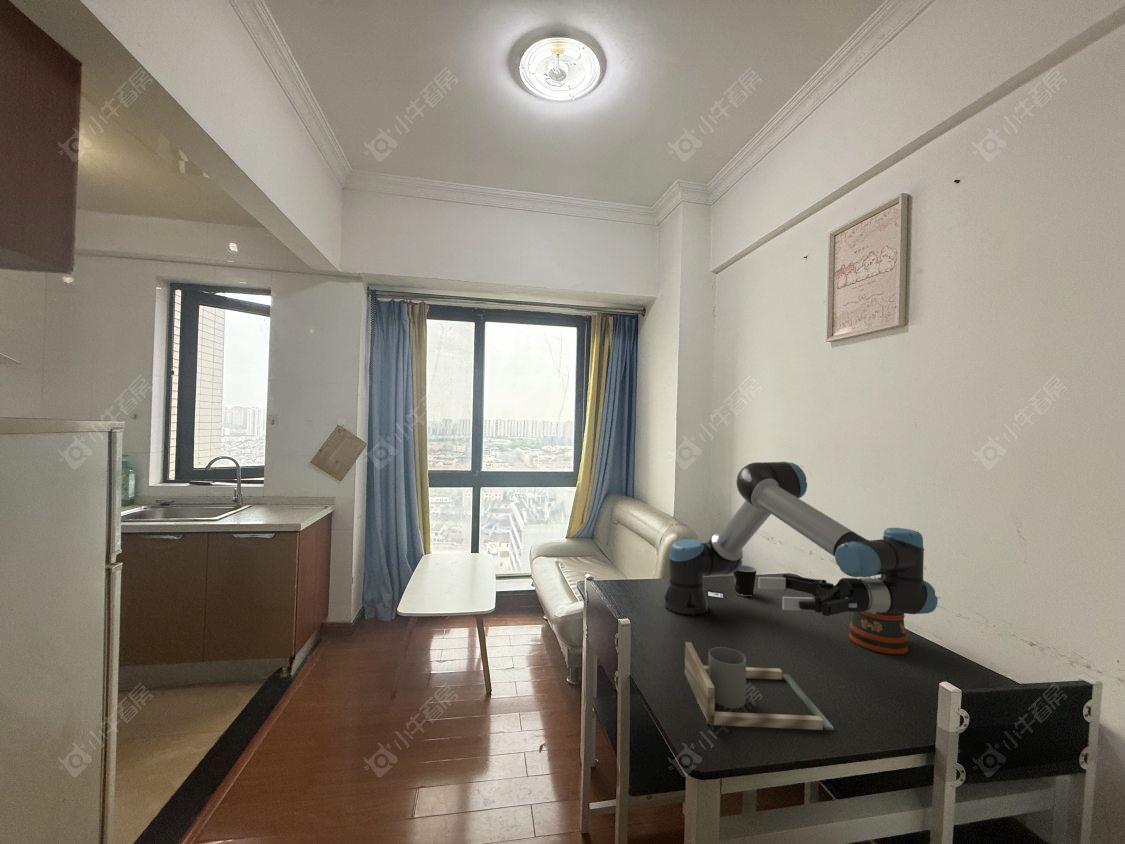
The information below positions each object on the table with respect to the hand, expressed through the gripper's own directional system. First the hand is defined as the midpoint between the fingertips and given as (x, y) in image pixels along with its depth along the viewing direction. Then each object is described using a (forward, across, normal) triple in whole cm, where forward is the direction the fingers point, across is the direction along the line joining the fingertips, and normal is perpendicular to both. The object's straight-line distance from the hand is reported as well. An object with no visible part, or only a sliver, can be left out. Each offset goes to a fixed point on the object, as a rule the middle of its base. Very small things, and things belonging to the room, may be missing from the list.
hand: (770, 592), depth 108 cm
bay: (+4, 0, -25) cm, 26 cm away
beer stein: (-47, +33, -25) cm, 63 cm away
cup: (+10, 0, -26) cm, 27 cm away
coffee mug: (-20, +71, -25) cm, 78 cm away
